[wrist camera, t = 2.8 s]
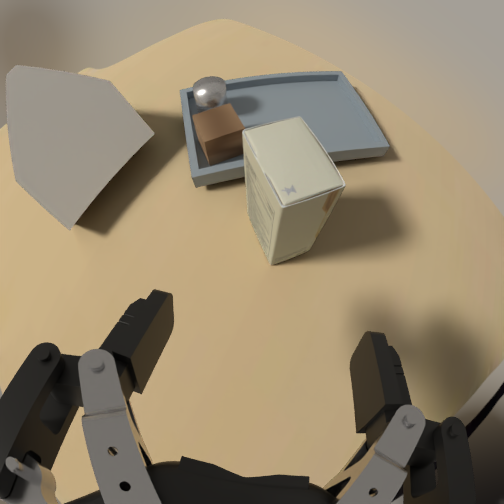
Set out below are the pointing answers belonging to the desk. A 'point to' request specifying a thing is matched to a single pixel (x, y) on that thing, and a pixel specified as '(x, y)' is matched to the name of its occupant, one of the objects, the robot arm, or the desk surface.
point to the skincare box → (288, 186)
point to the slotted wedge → (68, 137)
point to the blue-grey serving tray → (288, 106)
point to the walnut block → (219, 133)
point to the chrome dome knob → (209, 93)
